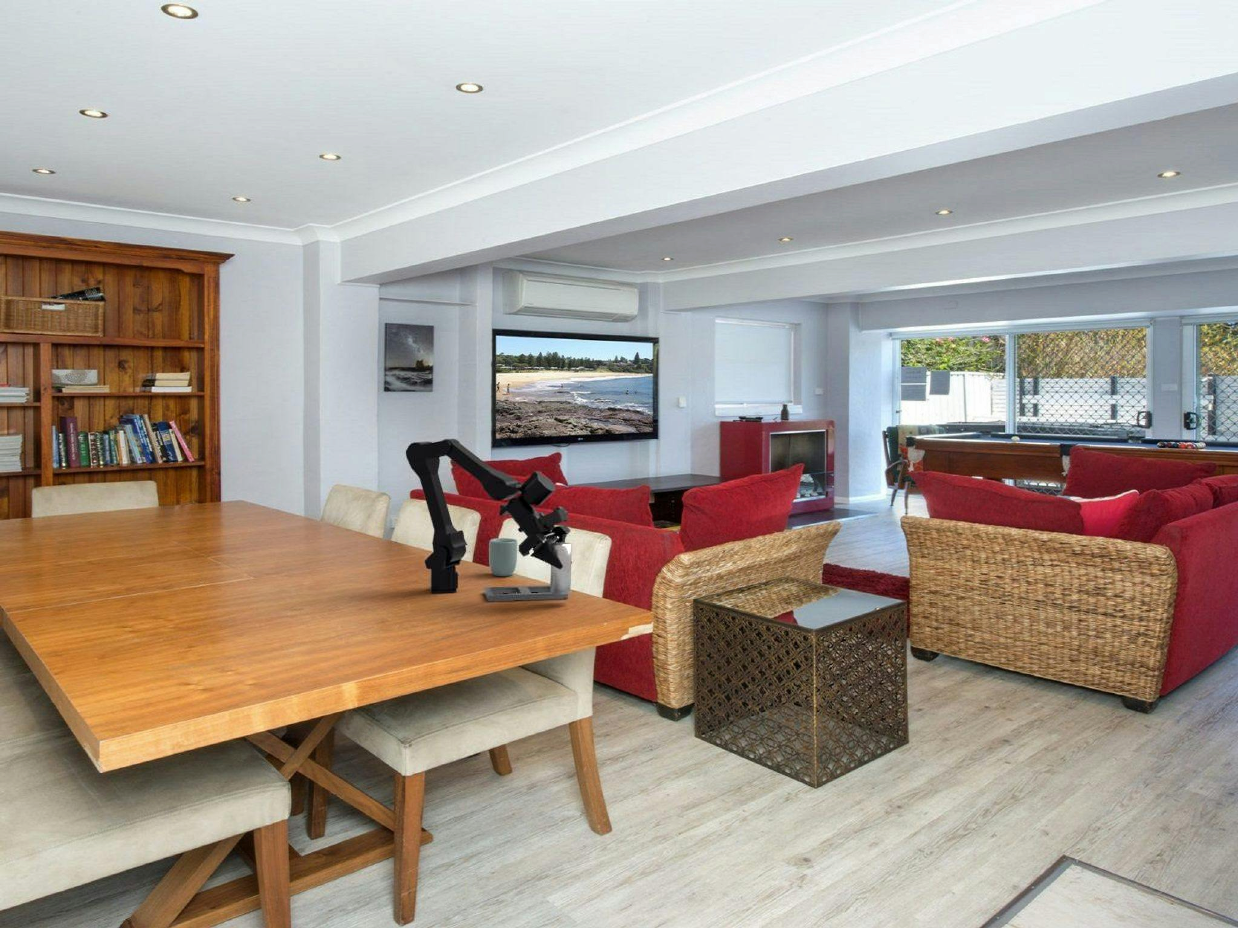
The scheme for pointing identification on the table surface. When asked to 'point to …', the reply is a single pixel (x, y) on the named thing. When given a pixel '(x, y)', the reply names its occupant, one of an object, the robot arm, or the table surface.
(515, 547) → the cup
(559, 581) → the peg
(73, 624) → the table surface
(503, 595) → the grey divided tray
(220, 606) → the table surface
